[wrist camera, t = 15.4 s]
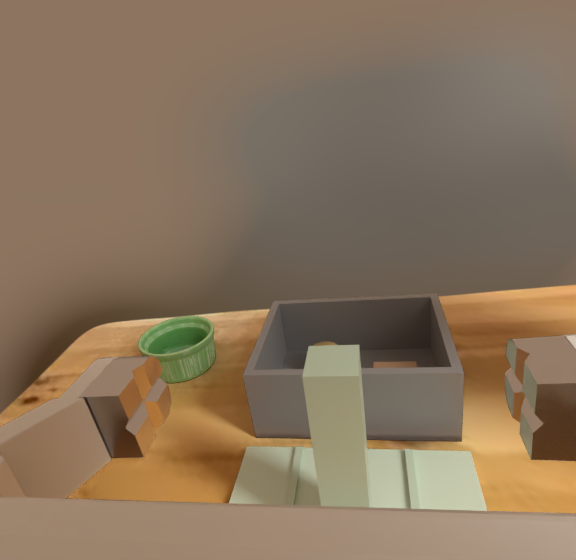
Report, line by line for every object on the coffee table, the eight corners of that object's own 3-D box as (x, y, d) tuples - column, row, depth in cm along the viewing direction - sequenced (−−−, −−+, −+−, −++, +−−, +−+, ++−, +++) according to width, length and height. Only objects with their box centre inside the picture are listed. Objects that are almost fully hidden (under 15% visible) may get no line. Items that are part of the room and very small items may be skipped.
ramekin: (205, 388, 48) (197, 355, 46) (133, 387, 50) (122, 355, 48) (229, 344, 56) (223, 314, 54) (166, 344, 58) (158, 316, 56)
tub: (437, 348, 49) (437, 293, 46) (461, 441, 36) (464, 373, 34) (281, 352, 52) (273, 301, 50) (255, 437, 40) (242, 375, 37)
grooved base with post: (469, 460, 35) (477, 294, 29) (533, 688, 22) (571, 470, 16) (248, 454, 39) (215, 306, 33) (189, 646, 25) (116, 456, 20)
